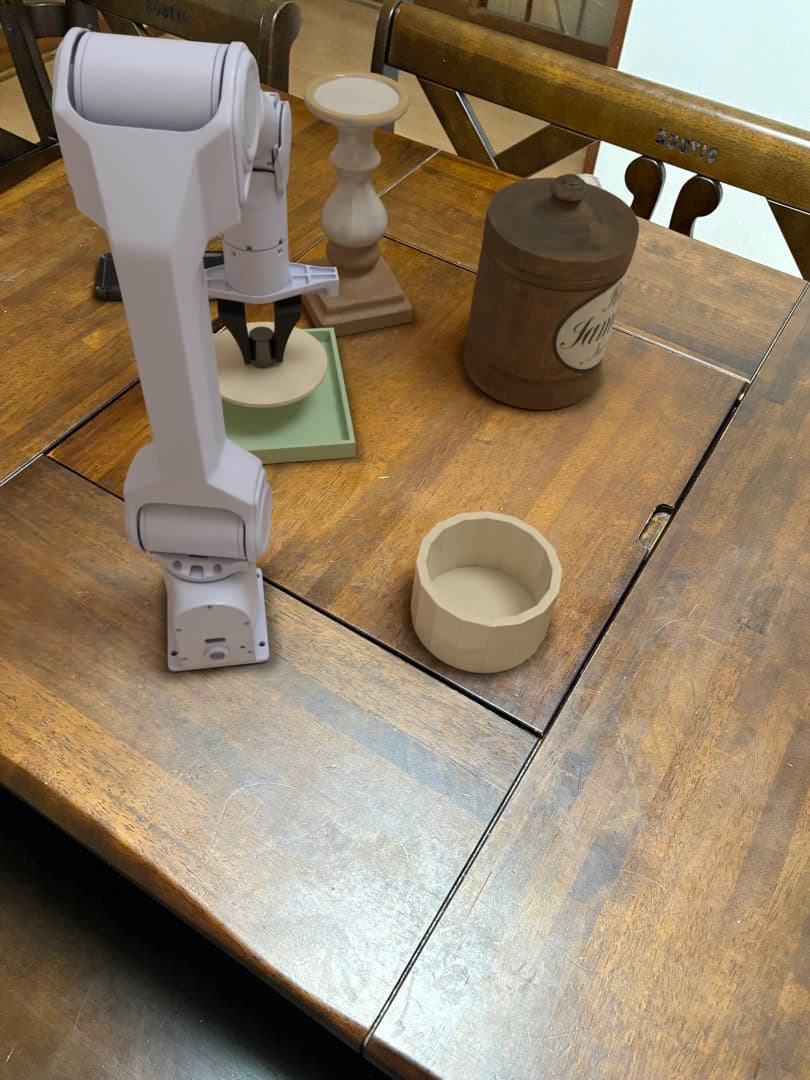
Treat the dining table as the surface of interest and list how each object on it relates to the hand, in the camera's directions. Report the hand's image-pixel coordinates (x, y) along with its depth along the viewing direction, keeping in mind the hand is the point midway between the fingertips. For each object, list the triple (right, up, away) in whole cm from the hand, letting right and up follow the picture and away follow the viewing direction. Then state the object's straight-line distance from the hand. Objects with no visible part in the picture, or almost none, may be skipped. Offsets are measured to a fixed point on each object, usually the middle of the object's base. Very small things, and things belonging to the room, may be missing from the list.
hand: (263, 357), depth 90 cm
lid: (0, -1, +1) cm, 1 cm away
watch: (+34, +17, +24) cm, 45 cm away
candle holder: (+8, +9, +16) cm, 20 cm away
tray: (0, -4, +4) cm, 6 cm away
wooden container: (+28, +1, +11) cm, 30 cm away
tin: (+20, -24, -11) cm, 34 cm away
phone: (-14, +12, +17) cm, 25 cm away
